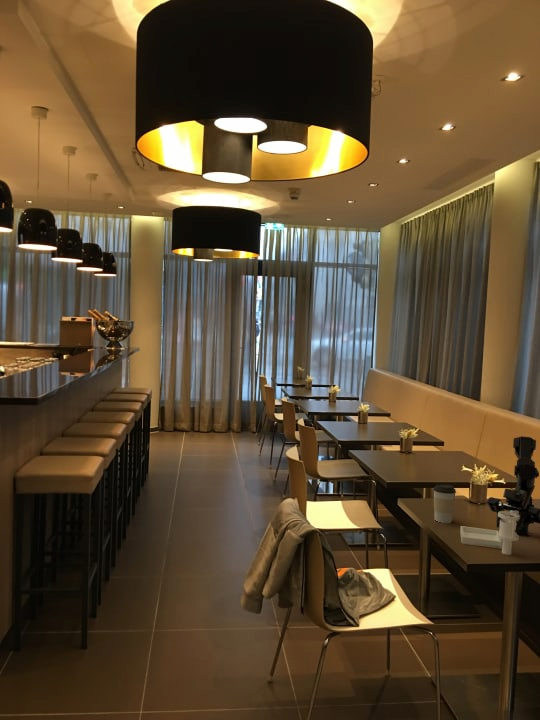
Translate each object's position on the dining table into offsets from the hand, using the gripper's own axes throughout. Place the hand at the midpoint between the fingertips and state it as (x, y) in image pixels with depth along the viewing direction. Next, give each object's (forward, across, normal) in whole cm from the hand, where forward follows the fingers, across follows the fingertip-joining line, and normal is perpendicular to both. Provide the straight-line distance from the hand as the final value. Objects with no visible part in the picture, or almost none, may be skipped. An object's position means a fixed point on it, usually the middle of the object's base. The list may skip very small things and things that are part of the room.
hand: (506, 529), depth 203 cm
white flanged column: (+5, 0, +7) cm, 9 cm away
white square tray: (+2, -13, +11) cm, 17 cm away
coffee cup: (-5, -34, +18) cm, 39 cm away
